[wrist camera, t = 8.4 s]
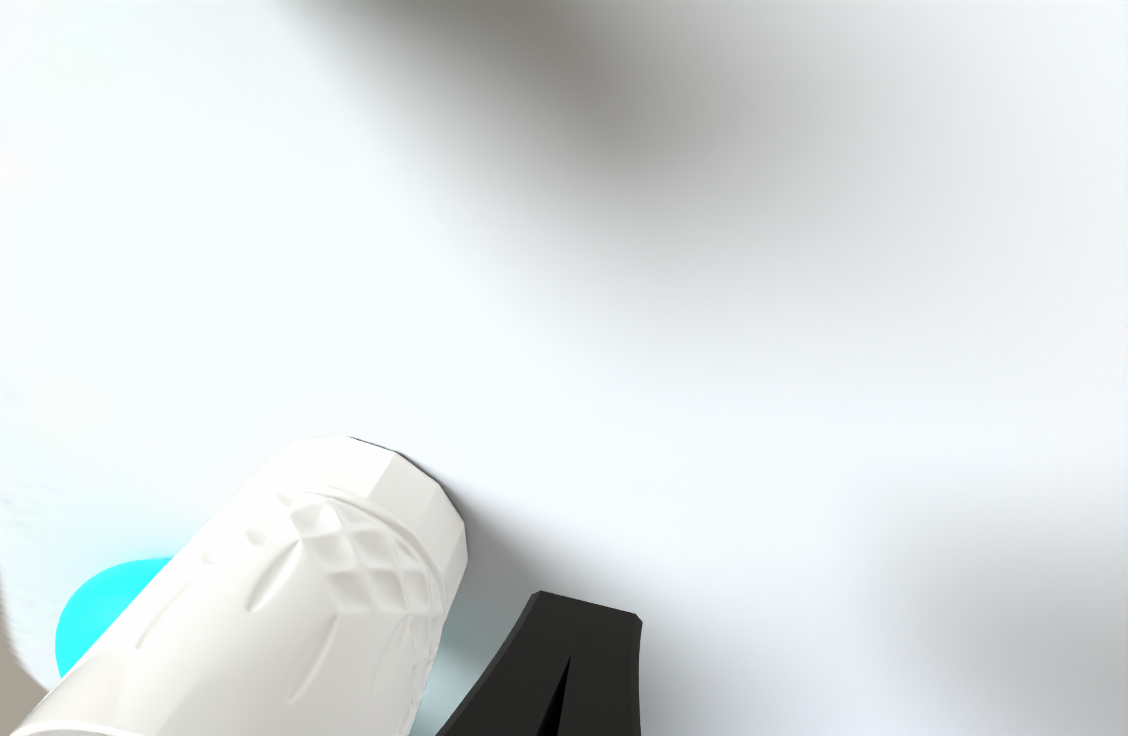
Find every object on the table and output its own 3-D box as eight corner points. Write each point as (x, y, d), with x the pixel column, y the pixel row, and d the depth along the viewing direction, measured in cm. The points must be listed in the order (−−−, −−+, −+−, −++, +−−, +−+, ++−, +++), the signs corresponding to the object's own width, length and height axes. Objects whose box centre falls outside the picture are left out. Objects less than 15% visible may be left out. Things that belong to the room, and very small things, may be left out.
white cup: (245, 566, 29) (26, 867, 21) (243, 381, 25) (-39, 674, 16) (469, 642, 29) (333, 982, 20) (509, 467, 24) (354, 814, 16)
